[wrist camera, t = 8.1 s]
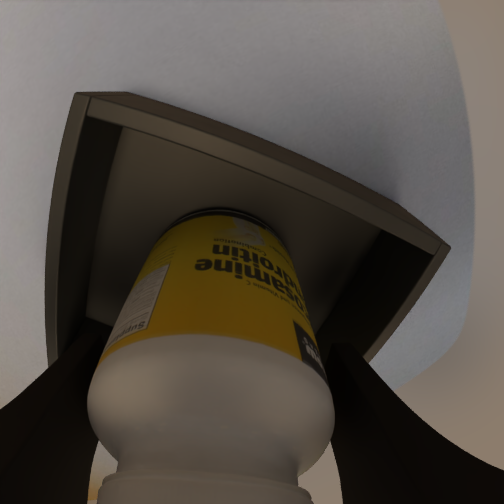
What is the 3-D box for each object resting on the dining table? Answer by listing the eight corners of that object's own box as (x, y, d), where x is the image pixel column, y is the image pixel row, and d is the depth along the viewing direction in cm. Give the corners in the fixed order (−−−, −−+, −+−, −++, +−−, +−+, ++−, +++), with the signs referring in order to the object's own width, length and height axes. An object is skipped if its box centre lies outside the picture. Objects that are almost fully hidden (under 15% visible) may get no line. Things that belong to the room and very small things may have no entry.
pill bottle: (311, 296, 15) (382, 539, 5) (196, 342, 16) (177, 563, 6) (253, 176, 12) (318, 511, 2) (123, 243, 13) (-3, 493, 3)
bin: (400, 205, 14) (452, 247, 10) (288, 377, 19) (298, 437, 15) (125, 91, 11) (74, 91, 7) (78, 314, 16) (48, 370, 12)
